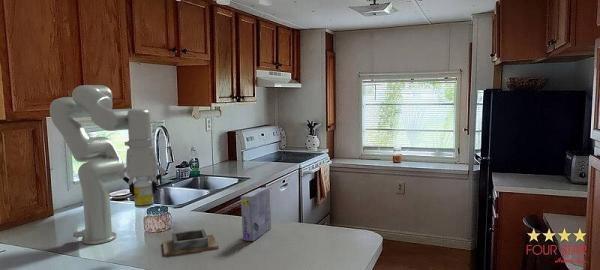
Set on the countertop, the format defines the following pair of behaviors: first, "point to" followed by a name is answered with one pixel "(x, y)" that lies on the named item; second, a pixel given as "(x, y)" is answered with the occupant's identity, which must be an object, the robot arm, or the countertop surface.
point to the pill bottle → (143, 192)
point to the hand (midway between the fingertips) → (143, 193)
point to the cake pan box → (255, 213)
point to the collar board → (189, 242)
